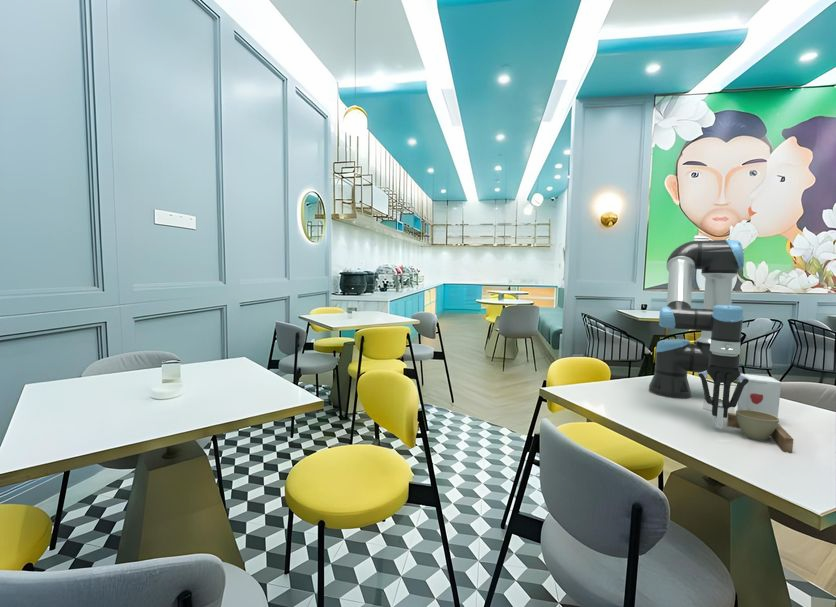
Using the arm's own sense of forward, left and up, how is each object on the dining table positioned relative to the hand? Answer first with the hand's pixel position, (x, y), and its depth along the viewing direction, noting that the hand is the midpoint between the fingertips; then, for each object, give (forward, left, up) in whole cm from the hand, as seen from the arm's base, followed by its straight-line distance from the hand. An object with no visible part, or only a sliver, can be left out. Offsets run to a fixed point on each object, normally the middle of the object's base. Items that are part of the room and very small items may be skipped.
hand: (718, 426), depth 125 cm
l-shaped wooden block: (+9, 0, -1) cm, 10 cm away
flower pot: (+9, 0, -2) cm, 9 cm away
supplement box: (+14, +22, -2) cm, 26 cm away
